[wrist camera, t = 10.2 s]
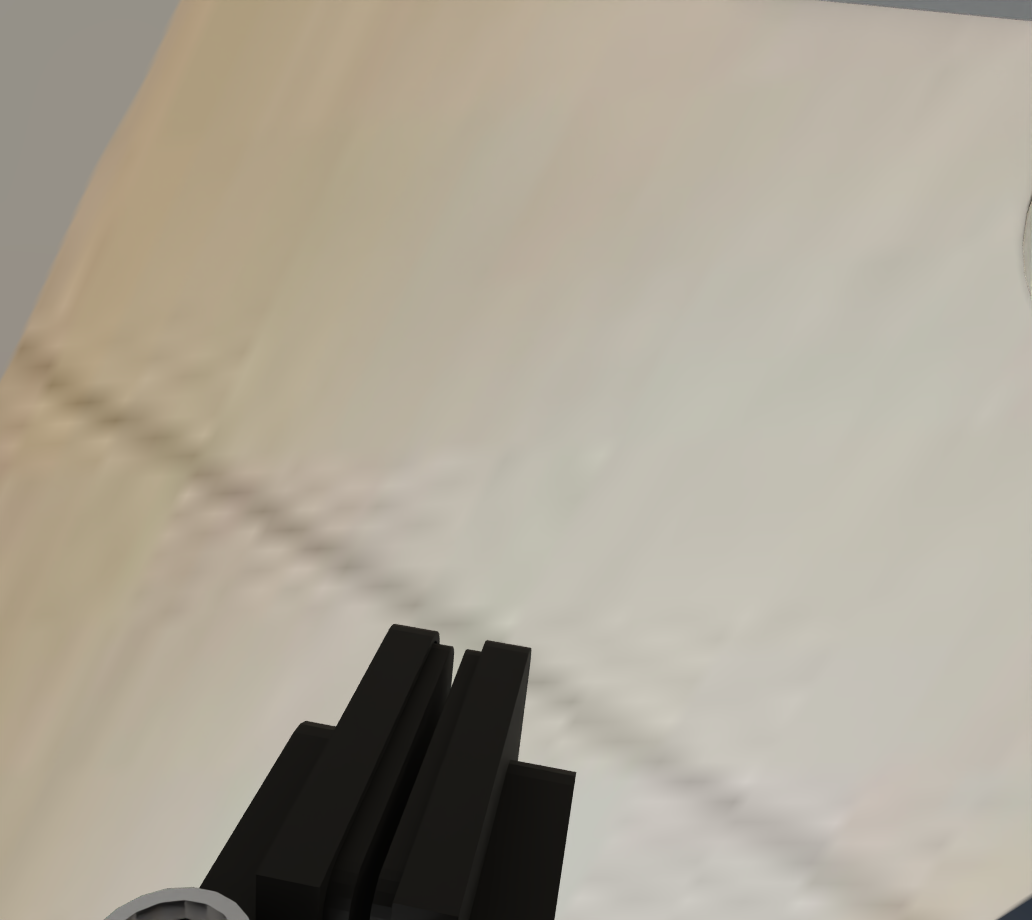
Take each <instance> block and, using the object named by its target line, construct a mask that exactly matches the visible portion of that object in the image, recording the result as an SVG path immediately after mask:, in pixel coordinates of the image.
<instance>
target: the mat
mask: <svg viewBox="0 0 1032 920" xmlns="http://www.w3.org/2000/svg"><path fill="white" fill-rule="evenodd" d="M821 1H831V2H841V3H852V4H862V5H872V6H882V7H893V8H903V9H913V10H923V11H934V12H944V13H954V14H964V15H974V16H985V17H995V18H1005V19H1015V20H1026V21H1032V0H821Z"/></svg>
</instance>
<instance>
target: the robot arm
mask: <svg viewBox="0 0 1032 920" xmlns="http://www.w3.org/2000/svg"><path fill="white" fill-rule="evenodd" d="M1023 257H1024V274H1025V278H1026V282H1027V285H1028V289H1029V292H1030V296H1031V299H1032V202H1031V205H1030V207H1029V210H1028V213H1027V219H1026V226H1025V233H1024V240H1023ZM439 643H440V638H439V633H438V631H432V630H426V629H421V628H415V627H409V626H404V625H398V624H393V625H392V626H391V627H390V629H389V631H388V632H387V634H386V636H385V638H384V640H383V642H382V643H381V645H380V647H379V649H378V651H377V653H376V654H375V656H374V658H373V660H372V662H371V664H370V665H369V667H368V669H367V671H366V673H365V675H364V676H363V678H362V680H361V682H360V684H359V686H358V687H357V689H356V691H355V693H354V695H353V697H352V698H351V700H350V702H349V704H348V706H347V708H346V710H345V711H344V713H343V715H342V717H341V719H340V721H339V722H338V724H337V726H336V727H335V726H330V725H325V724H320V723H314V722H309V721H305V722H303V723H301V724H300V725H299V726H298V727H297V729H296V730H295V731H294V733H293V734H292V736H291V738H290V739H289V741H288V743H287V744H286V746H285V748H284V749H283V751H282V752H281V754H280V756H279V757H278V759H277V761H276V762H275V764H274V766H273V767H272V769H271V771H270V772H269V774H268V776H267V777H266V779H265V780H264V782H263V784H262V785H261V787H260V789H259V790H258V792H257V794H256V795H255V797H254V799H253V800H252V802H251V804H250V805H249V807H248V808H247V810H246V812H245V813H244V815H243V817H242V818H241V820H240V822H239V823H238V825H237V827H236V828H235V830H234V832H233V833H232V835H231V836H230V838H229V840H228V841H227V843H226V845H225V846H224V848H223V850H222V851H221V853H220V855H219V856H218V858H217V860H216V861H215V863H214V864H213V866H212V868H211V869H210V871H209V873H208V874H207V876H206V878H205V879H204V881H203V883H202V884H201V886H200V888H195V887H185V888H167V889H163V890H160V891H156V892H153V893H149V894H146V895H142V896H140V897H138V898H136V899H134V900H132V901H130V902H128V903H127V904H125V905H123V906H121V907H119V908H117V909H116V910H115V911H113V912H112V913H111V914H110V915H109V916H108V917H106V918H105V919H104V920H554V918H555V911H556V905H557V898H558V891H559V885H560V878H561V871H562V864H563V858H564V851H565V844H566V837H567V831H568V824H569V817H570V810H571V804H572V797H573V790H574V784H575V777H576V772H572V771H567V770H562V769H557V768H551V767H546V766H541V765H536V764H530V763H525V762H520V761H518V755H519V747H520V739H521V731H522V723H523V715H524V708H525V700H526V692H527V684H528V676H529V669H530V660H531V648H528V647H523V646H517V645H511V644H506V643H500V642H494V641H489V640H487V641H485V644H484V646H483V649H482V652H480V651H475V650H469V649H467V650H466V651H465V653H464V656H463V658H462V661H461V664H460V666H459V669H458V671H457V674H456V677H455V679H454V682H453V684H452V687H451V682H452V671H453V660H454V648H453V647H452V646H447V645H441V644H439Z"/></svg>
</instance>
